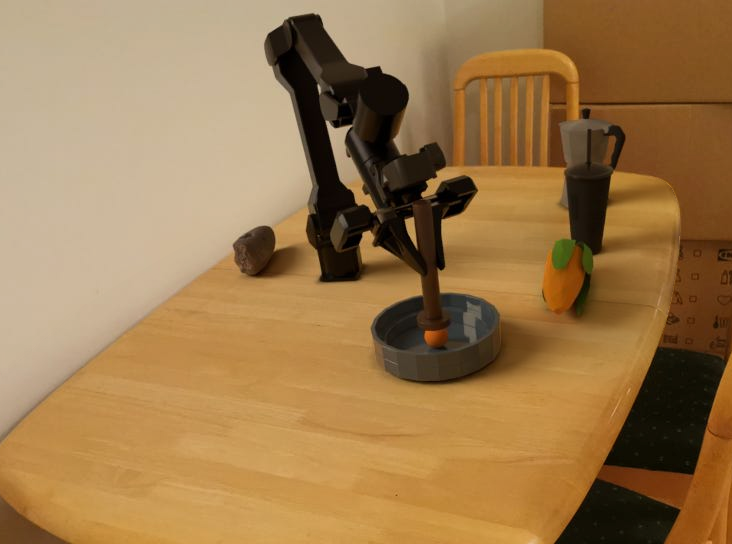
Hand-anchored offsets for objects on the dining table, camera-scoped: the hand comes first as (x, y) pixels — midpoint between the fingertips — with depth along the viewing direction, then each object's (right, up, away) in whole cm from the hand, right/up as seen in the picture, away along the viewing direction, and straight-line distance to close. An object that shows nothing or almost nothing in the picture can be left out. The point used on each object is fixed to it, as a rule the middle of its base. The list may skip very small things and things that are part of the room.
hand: (434, 272), depth 83 cm
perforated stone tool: (-30, +7, +46) cm, 55 cm away
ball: (+1, -7, +10) cm, 12 cm away
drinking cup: (+28, +8, +34) cm, 44 cm away
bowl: (+1, -9, +11) cm, 14 cm away
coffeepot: (+33, +20, +52) cm, 65 cm away
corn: (+21, -2, +19) cm, 28 cm away
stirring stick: (0, -6, +5) cm, 8 cm away
